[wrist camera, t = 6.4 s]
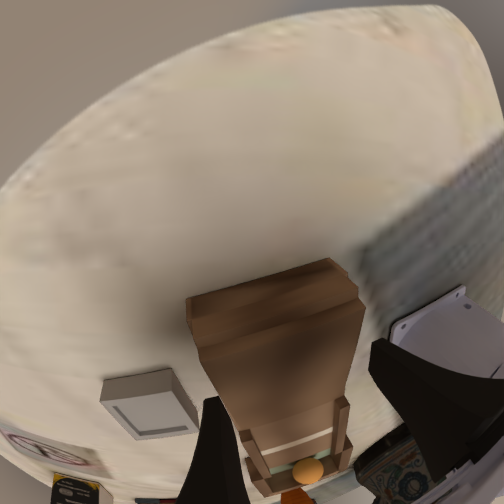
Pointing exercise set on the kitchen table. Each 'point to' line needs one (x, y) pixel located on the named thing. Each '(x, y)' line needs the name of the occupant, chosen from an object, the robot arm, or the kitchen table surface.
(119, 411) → the gray box
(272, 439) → the brown wooden shallow tray
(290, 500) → the carrot
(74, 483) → the medicine bottle
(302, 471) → the ball
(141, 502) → the decorative book
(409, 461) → the beer stein
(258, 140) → the kitchen table surface
